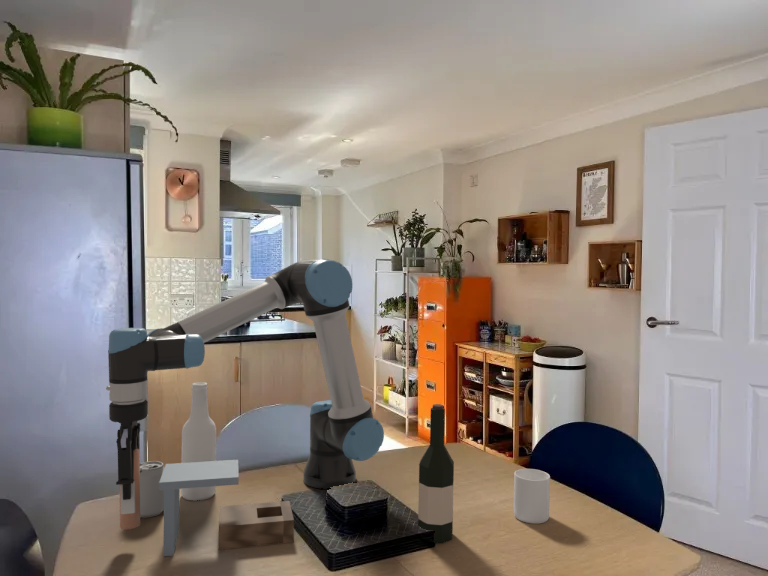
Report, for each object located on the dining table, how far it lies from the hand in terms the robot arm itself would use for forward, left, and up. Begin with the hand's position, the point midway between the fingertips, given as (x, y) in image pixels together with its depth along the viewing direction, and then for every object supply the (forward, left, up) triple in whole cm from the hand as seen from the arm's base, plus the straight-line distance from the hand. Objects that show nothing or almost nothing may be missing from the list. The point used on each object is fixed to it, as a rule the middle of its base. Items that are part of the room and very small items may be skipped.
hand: (129, 508), depth 122 cm
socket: (-27, 0, -8) cm, 28 cm away
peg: (0, 0, -4) cm, 4 cm away
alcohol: (-13, -27, -9) cm, 31 cm away
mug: (-94, +3, -9) cm, 94 cm away
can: (-2, -18, -9) cm, 20 cm away
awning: (-15, 0, -8) cm, 17 cm away
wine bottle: (-67, +9, -9) cm, 68 cm away
